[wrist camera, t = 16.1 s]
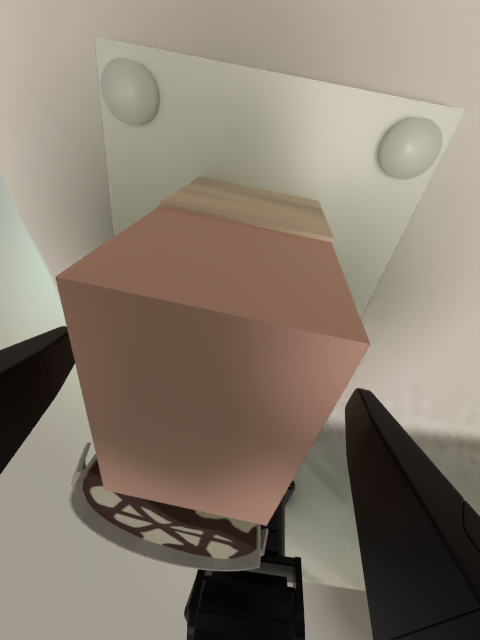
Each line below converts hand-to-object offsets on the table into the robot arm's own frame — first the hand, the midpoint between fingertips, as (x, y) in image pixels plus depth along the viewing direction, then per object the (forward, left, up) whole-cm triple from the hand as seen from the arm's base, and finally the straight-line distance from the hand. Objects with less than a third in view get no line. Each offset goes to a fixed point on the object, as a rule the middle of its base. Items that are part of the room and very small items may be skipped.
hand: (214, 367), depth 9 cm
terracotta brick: (0, 0, -2) cm, 3 cm away
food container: (-14, +2, -9) cm, 17 cm away
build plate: (0, 0, -9) cm, 9 cm away
